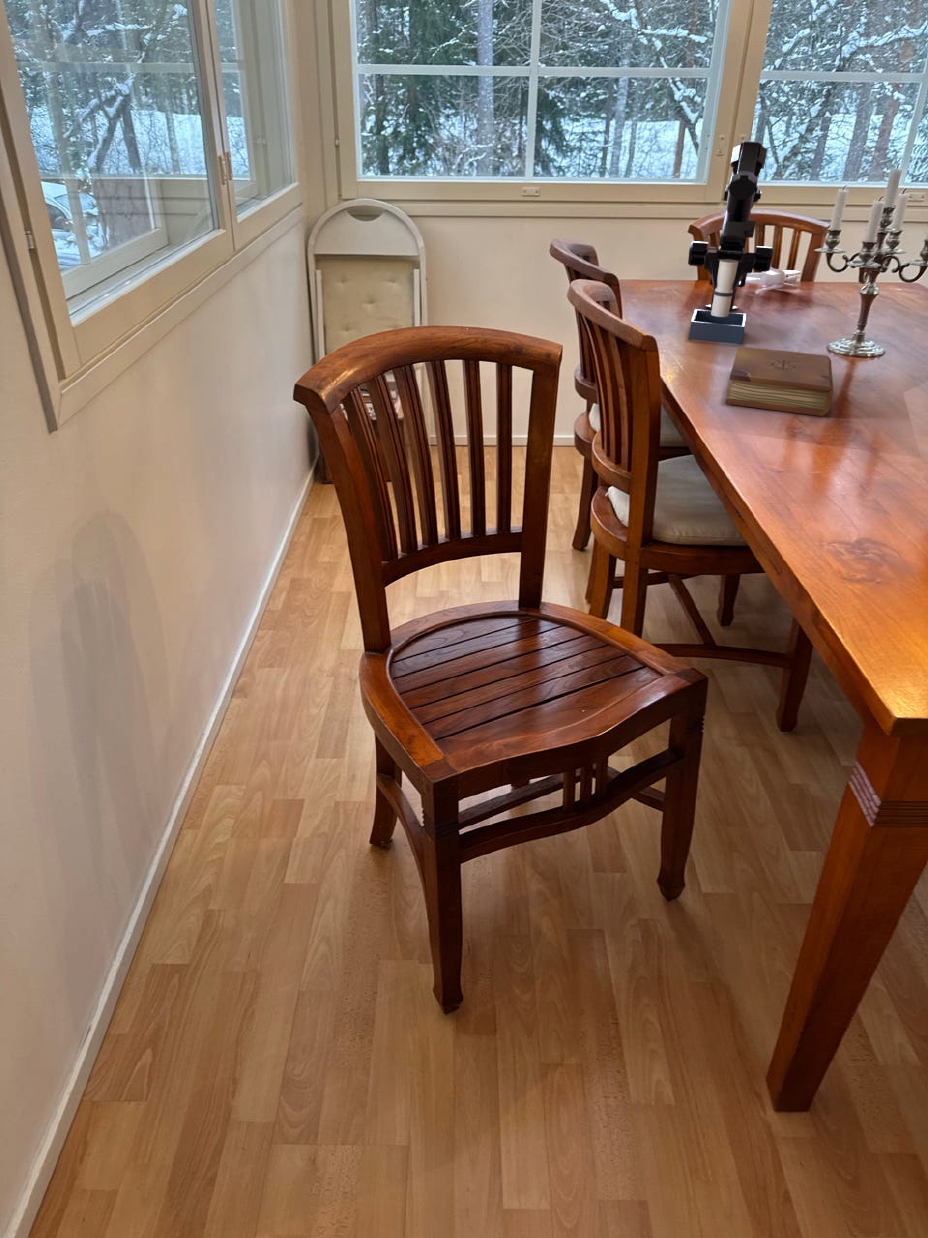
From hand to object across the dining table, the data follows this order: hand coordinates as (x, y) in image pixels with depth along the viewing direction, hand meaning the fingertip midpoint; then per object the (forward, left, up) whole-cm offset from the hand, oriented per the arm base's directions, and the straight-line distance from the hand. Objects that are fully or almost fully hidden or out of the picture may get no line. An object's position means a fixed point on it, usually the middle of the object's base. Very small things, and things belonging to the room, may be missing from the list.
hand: (724, 288), depth 202 cm
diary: (+25, +31, -12) cm, 41 cm away
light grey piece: (-1, -1, -6) cm, 6 cm away
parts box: (-3, -2, -12) cm, 12 cm away
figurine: (-60, -23, -12) cm, 65 cm away
